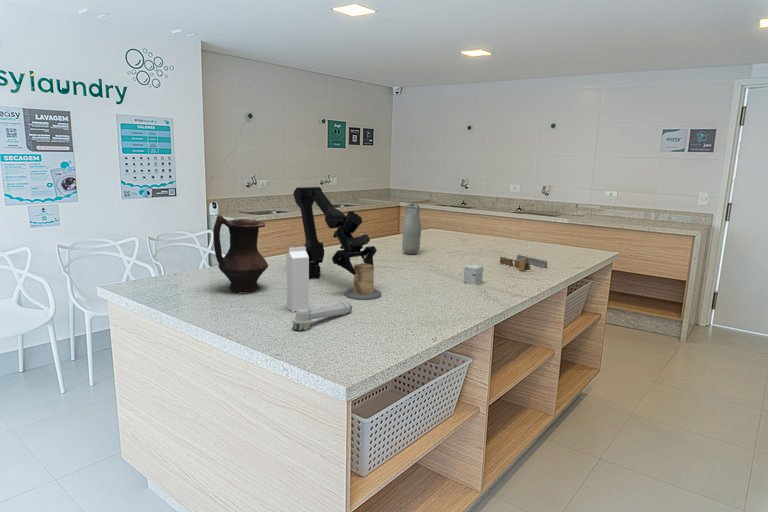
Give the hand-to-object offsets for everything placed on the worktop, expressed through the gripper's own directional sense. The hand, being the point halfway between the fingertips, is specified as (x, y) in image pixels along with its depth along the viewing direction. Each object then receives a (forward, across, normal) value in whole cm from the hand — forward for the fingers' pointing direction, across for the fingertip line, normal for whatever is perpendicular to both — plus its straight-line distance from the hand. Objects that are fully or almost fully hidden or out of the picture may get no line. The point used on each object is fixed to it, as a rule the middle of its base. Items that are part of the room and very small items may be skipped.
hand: (364, 272), depth 196 cm
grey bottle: (-28, +74, +41) cm, 89 cm away
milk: (+6, -30, +6) cm, 31 cm away
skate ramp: (+10, +94, +3) cm, 95 cm away
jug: (-17, -34, +30) cm, 49 cm away
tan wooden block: (+6, 0, +6) cm, 8 cm away
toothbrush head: (+18, -30, -4) cm, 36 cm away
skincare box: (+15, +51, -2) cm, 54 cm away
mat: (+6, 0, +6) cm, 9 cm away
